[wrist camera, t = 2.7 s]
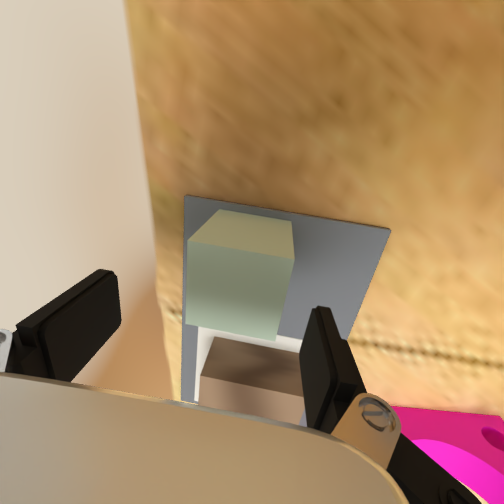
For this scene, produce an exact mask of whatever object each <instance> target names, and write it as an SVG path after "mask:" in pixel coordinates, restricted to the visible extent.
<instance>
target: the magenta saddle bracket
mask: <svg viewBox="0 0 504 504" xmlns="http://www.w3.org/2000/svg"><path fill="white" fill-rule="evenodd" d="M391 407H392V408H393V409H394V411H395V412H396V414H397V415H398V417H399V419H400V423H401V433H402V434H403V435H405V436H406V437H407V438H408V439H409V440H411V441H412V442H413V443H414V444H415V445H416V446H418V447H419V448H420V449H421V450H422V451H424V452H425V453H426V454H427V455H428V456H429V457H431V458H432V459H433V460H434V461H435V462H436V463H438V464H439V465H440V466H441V467H442V468H444V469H445V470H446V471H447V472H448V473H449V474H451V475H452V476H453V477H454V478H456V479H457V480H459V481H461V482H462V483H464V484H465V485H467V486H468V487H469V488H471V489H472V490H473V491H475V492H476V493H477V494H478V495H480V496H481V497H482V498H483V499H484V500H485V501H487V502H488V503H489V504H504V421H503V420H502V418H501V417H500V416H493V415H482V414H471V413H461V412H450V411H439V410H429V409H418V408H407V407H397V406H391Z"/></svg>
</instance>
